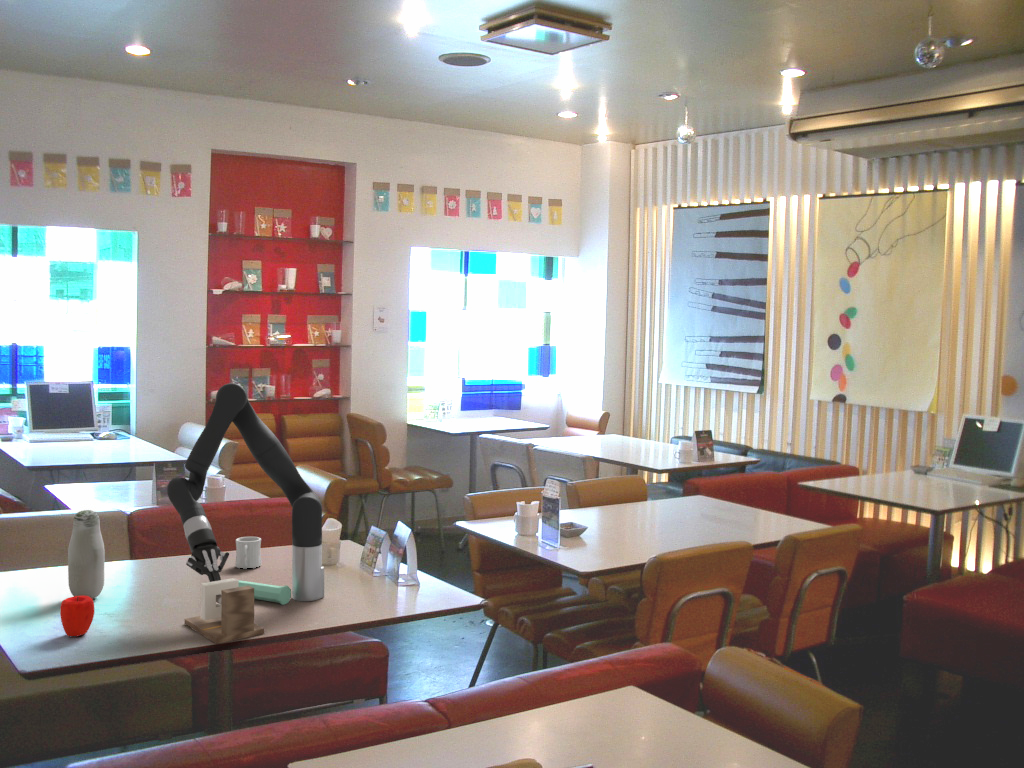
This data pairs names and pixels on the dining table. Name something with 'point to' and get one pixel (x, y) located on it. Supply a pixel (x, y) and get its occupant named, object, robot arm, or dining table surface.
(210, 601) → the white square block
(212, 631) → the rod rig
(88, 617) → the apple
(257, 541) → the mug
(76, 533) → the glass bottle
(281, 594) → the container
